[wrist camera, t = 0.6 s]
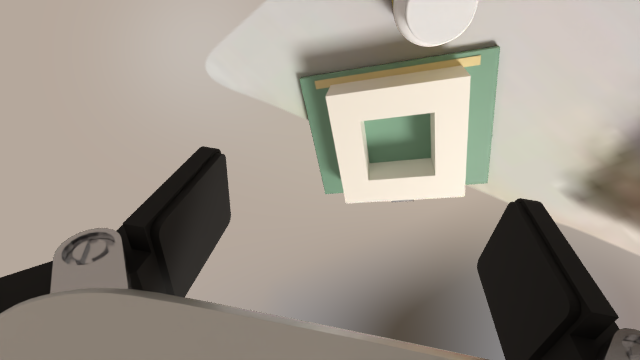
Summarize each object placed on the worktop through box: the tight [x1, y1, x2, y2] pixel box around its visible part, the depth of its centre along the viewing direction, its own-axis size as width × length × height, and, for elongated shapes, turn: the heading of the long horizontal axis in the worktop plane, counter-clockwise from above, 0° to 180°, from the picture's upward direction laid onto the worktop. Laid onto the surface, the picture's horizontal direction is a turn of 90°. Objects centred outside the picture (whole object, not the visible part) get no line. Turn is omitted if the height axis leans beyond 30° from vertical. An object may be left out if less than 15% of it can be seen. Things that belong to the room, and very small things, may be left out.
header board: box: [299, 46, 500, 203], centre depth 32 cm, size 18×14×4 cm
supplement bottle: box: [392, 0, 478, 47], centre depth 23 cm, size 5×5×10 cm
